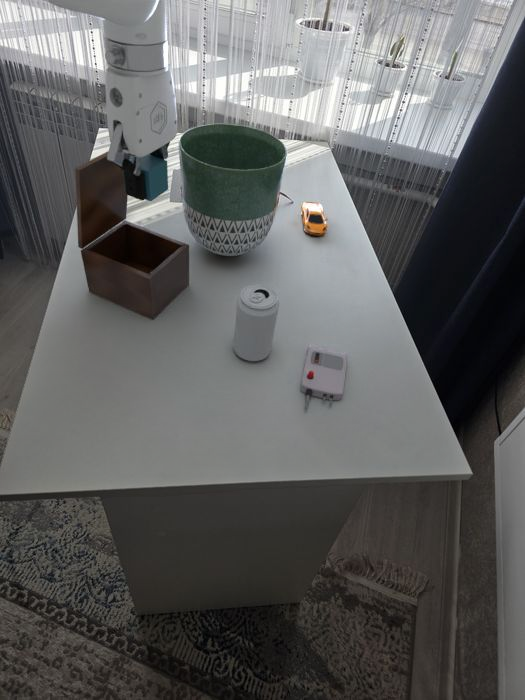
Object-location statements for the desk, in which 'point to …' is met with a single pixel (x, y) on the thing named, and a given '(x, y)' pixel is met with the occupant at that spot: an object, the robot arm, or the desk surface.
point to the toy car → (313, 218)
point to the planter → (230, 185)
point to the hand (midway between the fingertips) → (147, 188)
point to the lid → (99, 198)
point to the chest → (137, 268)
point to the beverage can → (255, 322)
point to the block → (153, 176)
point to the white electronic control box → (324, 374)
